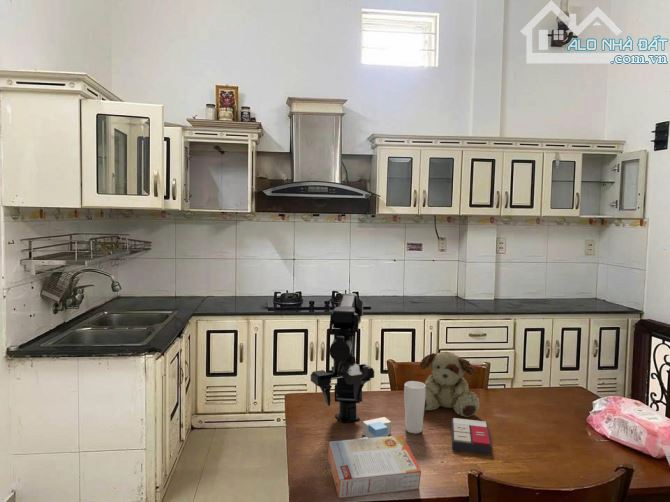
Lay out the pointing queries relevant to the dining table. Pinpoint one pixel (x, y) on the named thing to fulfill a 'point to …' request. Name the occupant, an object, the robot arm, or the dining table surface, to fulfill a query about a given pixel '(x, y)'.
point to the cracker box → (373, 466)
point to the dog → (449, 384)
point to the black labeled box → (470, 436)
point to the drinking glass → (414, 405)
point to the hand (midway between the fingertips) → (342, 403)
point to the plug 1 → (382, 420)
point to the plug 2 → (377, 430)
